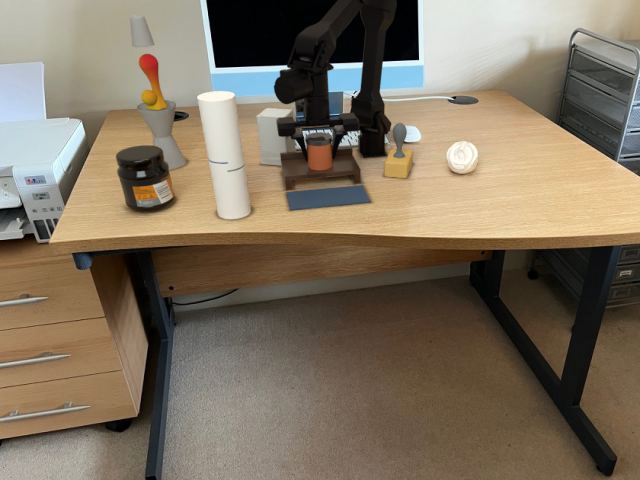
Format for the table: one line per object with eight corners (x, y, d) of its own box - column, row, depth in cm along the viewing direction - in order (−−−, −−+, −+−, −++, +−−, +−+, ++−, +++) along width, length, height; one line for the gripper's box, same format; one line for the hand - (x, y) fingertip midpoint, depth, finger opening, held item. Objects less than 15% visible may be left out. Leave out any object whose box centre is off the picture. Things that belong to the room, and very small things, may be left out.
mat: (362, 186, 138) (362, 185, 138) (370, 202, 130) (370, 201, 130) (286, 193, 134) (286, 191, 134) (290, 210, 127) (290, 208, 127)
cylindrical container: (220, 205, 129) (200, 91, 115) (252, 204, 130) (237, 90, 116) (215, 219, 123) (194, 101, 109) (249, 218, 124) (232, 100, 110)
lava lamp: (172, 154, 154) (142, 11, 135) (194, 162, 150) (166, 14, 130) (143, 165, 148) (107, 16, 129) (165, 173, 144) (131, 20, 124)
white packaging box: (288, 166, 148) (283, 117, 141) (260, 164, 149) (254, 115, 142) (297, 156, 154) (293, 108, 147) (271, 154, 155) (265, 107, 148)
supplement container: (176, 211, 126) (164, 159, 120) (125, 217, 124) (110, 164, 117) (176, 191, 135) (165, 142, 128) (128, 197, 132) (115, 146, 126)
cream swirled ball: (441, 175, 143) (443, 145, 139) (450, 164, 149) (452, 135, 145) (473, 180, 141) (476, 150, 137) (480, 169, 147) (483, 139, 142)
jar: (331, 159, 142) (329, 131, 138) (335, 169, 137) (333, 140, 133) (306, 161, 141) (303, 133, 137) (309, 171, 136) (306, 142, 132)
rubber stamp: (406, 178, 142) (408, 130, 135) (383, 176, 143) (384, 129, 136) (412, 163, 150) (414, 117, 143) (390, 161, 151) (391, 116, 144)
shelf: (352, 166, 148) (351, 147, 145) (360, 183, 139) (360, 163, 136) (281, 172, 145) (279, 152, 142) (285, 190, 136) (283, 169, 133)
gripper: (350, 81, 138) (352, 145, 147) (271, 86, 134) (278, 150, 143) (359, 94, 129) (360, 161, 138) (275, 100, 125) (282, 167, 134)
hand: (320, 159), depth 138 cm, fingers closed on jar, 6 cm apart
